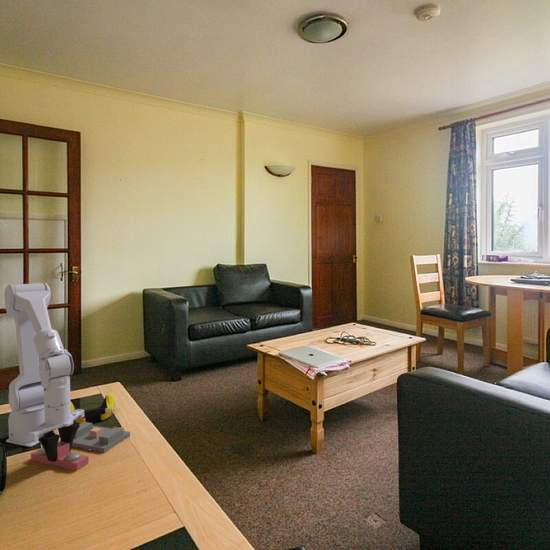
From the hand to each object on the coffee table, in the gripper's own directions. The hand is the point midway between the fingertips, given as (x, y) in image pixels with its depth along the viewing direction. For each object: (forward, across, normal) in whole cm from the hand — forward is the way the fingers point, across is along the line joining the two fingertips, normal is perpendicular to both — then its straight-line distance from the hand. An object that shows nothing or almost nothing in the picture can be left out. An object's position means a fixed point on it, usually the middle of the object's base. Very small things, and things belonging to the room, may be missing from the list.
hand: (59, 456), depth 96 cm
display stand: (+1, +12, 0) cm, 12 cm away
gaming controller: (+2, +24, +13) cm, 27 cm away
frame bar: (+2, 0, 0) cm, 2 cm away
